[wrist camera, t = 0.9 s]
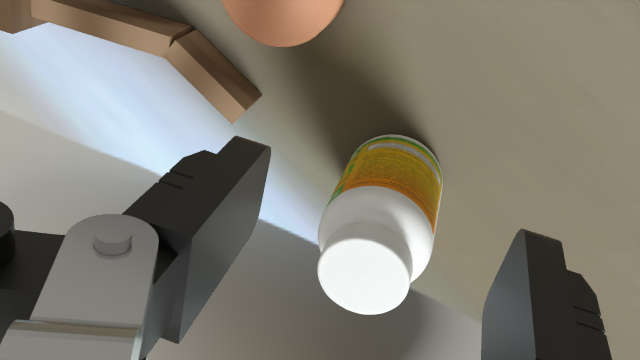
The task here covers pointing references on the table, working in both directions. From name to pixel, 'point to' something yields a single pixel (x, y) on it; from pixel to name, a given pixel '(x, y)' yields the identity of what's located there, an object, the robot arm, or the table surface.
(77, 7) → the dock
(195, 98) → the table surface
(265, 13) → the salmon orange rounded piece
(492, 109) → the table surface
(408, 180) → the supplement bottle
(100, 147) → the table surface
